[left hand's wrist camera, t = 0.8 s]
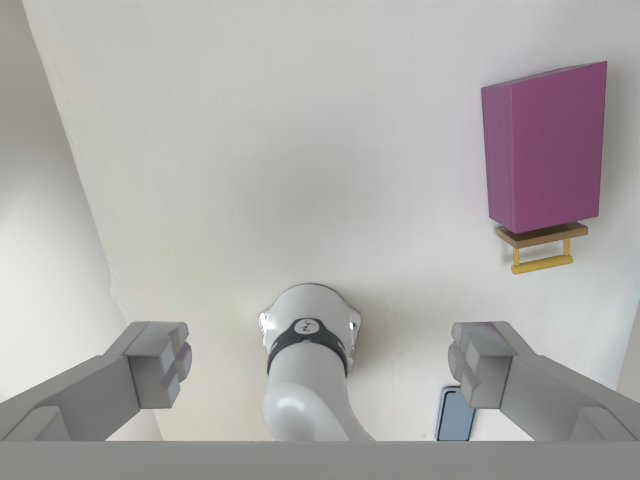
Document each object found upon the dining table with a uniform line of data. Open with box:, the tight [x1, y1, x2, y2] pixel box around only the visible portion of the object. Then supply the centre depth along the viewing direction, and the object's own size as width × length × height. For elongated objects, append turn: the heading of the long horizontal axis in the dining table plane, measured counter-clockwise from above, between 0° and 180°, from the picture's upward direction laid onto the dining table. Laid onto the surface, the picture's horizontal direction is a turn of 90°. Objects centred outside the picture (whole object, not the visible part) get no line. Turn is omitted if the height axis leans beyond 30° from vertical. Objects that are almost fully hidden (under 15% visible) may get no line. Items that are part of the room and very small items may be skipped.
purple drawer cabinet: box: [481, 61, 607, 234], centre depth 49 cm, size 20×11×8 cm, turn 13°
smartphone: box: [435, 388, 477, 441], centre depth 72 cm, size 7×1×15 cm
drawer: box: [497, 221, 588, 275], centre depth 51 cm, size 24×10×6 cm, turn 13°
